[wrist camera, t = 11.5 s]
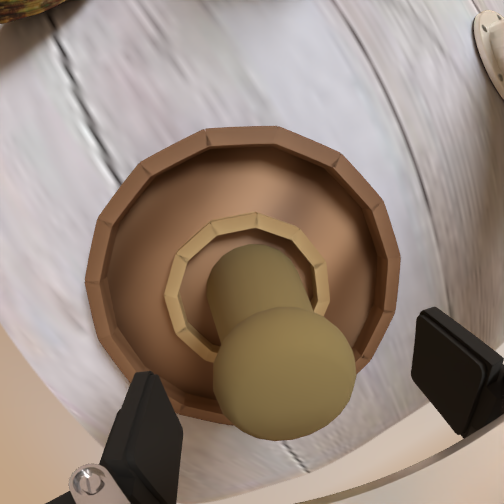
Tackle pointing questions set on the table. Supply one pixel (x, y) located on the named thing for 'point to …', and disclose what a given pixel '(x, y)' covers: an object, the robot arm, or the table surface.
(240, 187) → the ring tray
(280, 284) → the cork
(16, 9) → the seashell
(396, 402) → the table surface
